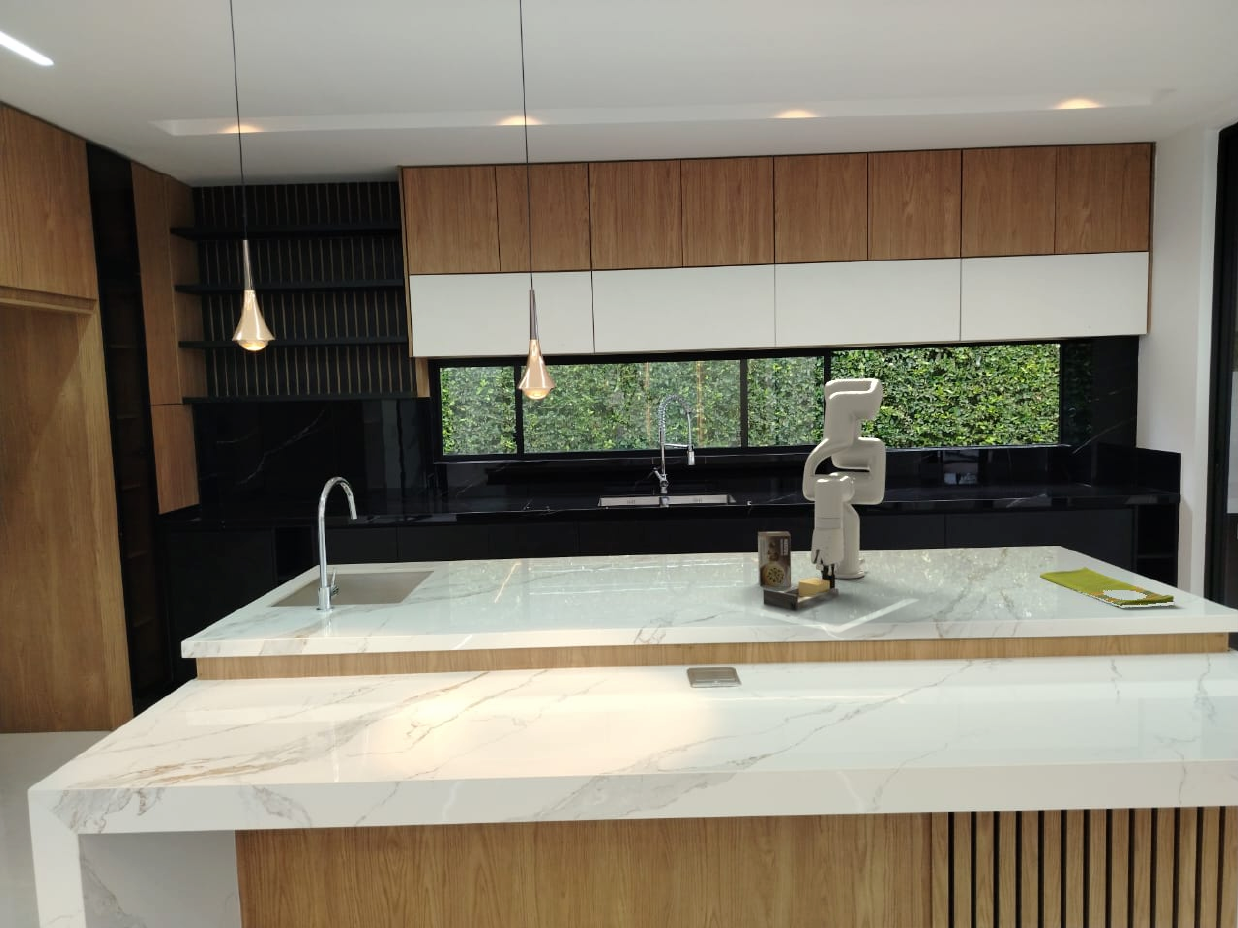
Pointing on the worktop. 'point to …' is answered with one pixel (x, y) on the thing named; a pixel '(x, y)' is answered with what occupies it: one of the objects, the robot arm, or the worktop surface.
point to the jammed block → (812, 586)
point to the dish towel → (1102, 586)
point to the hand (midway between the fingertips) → (828, 588)
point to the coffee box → (774, 558)
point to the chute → (796, 598)
